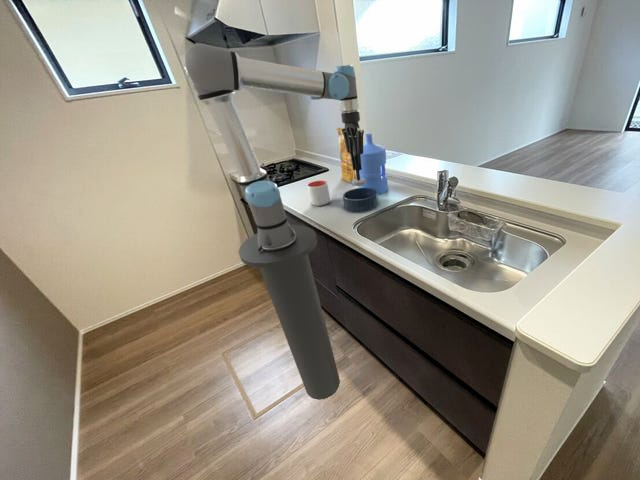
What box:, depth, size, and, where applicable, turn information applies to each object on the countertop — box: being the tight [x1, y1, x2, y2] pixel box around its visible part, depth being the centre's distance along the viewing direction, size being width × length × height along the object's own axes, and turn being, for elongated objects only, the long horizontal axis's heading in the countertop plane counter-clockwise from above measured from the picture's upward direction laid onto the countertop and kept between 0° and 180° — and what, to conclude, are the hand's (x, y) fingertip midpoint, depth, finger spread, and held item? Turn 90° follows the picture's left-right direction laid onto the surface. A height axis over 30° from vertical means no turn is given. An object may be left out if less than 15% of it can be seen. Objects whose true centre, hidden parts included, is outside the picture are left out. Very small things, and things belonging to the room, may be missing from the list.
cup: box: [306, 180, 331, 207], centre depth 150 cm, size 10×10×10 cm
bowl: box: [342, 187, 379, 213], centre depth 143 cm, size 17×17×6 cm
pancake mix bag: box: [336, 127, 357, 184], centre depth 172 cm, size 7×19×28 cm, turn 30°
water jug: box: [358, 133, 389, 196], centre depth 152 cm, size 16×16×28 cm
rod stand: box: [351, 145, 366, 187], centre depth 134 cm, size 6×6×17 cm
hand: (357, 169), depth 135 cm, fingers closed on rod stand, 2 cm apart
